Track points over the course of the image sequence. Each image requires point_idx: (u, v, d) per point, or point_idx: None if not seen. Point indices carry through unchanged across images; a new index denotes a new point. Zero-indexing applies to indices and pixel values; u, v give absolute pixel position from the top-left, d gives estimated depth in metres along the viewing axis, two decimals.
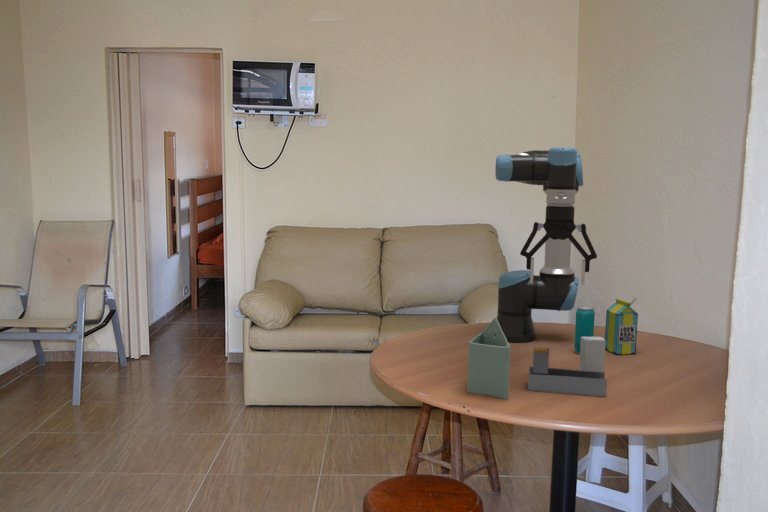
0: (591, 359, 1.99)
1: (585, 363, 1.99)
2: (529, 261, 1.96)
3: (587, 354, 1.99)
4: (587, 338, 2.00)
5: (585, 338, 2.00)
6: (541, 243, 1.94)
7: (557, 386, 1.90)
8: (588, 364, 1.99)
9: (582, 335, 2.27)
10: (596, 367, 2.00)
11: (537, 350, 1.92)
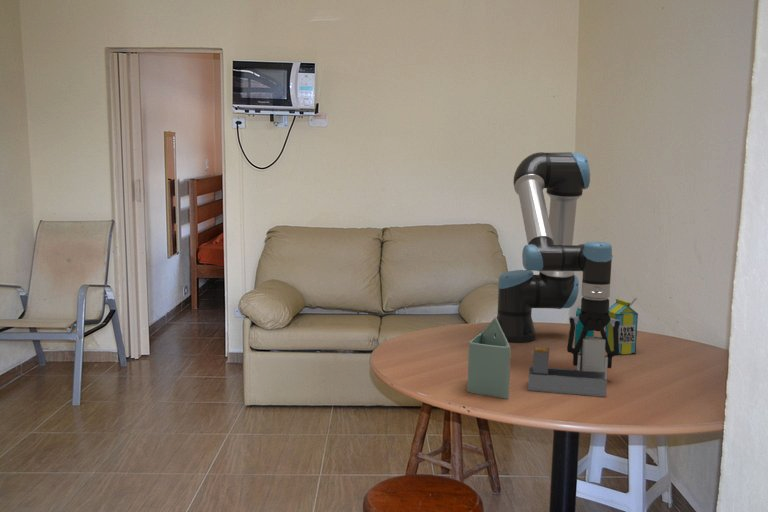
0: (591, 359, 1.99)
1: (585, 363, 1.99)
2: (576, 358, 2.02)
3: (587, 354, 1.99)
4: (587, 338, 2.00)
5: (585, 338, 2.00)
6: (582, 337, 2.00)
7: (557, 386, 1.90)
8: (588, 364, 1.99)
9: None
10: (596, 367, 2.00)
11: (537, 350, 1.92)
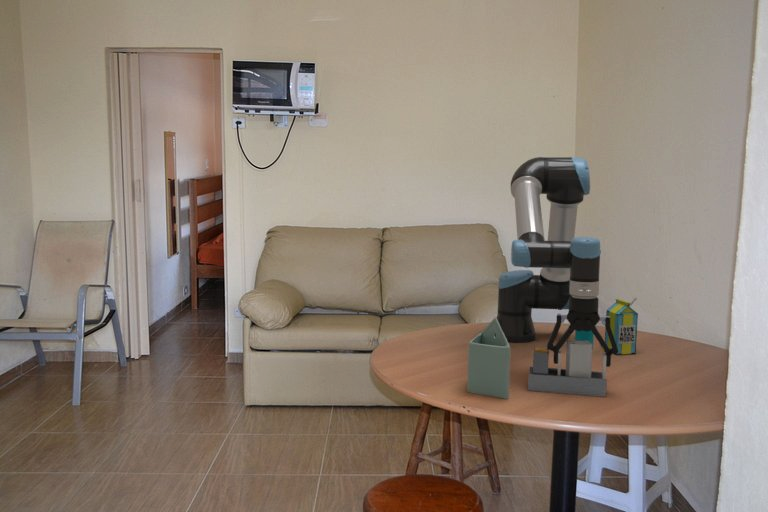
0: (578, 365, 1.89)
1: (571, 368, 1.90)
2: (556, 355, 1.92)
3: (573, 359, 1.89)
4: (573, 342, 1.90)
5: (571, 342, 1.90)
6: (567, 336, 1.90)
7: (557, 386, 1.90)
8: (574, 369, 1.90)
9: (582, 335, 2.27)
10: (582, 373, 1.90)
11: (537, 350, 1.92)
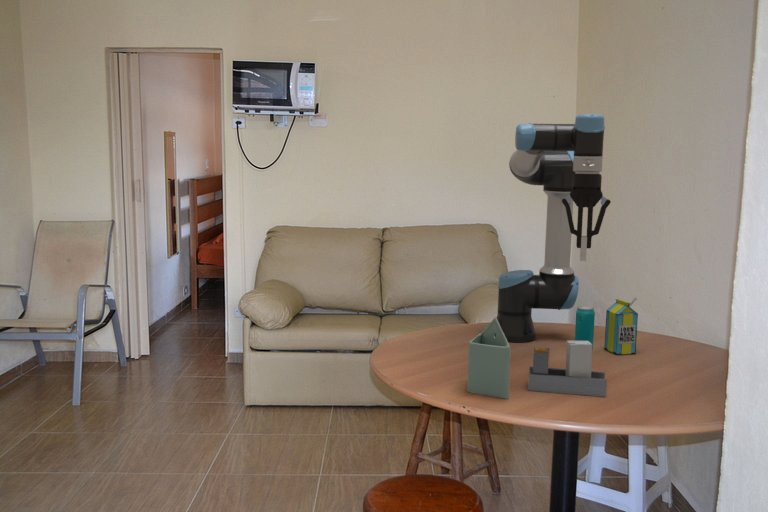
0: (577, 365, 1.89)
1: (571, 369, 1.90)
2: (579, 239, 1.93)
3: (573, 359, 1.89)
4: (573, 342, 1.90)
5: (571, 342, 1.90)
6: (580, 216, 1.92)
7: (557, 386, 1.90)
8: (574, 369, 1.90)
9: (583, 335, 2.27)
10: (582, 373, 1.90)
11: (537, 350, 1.92)
